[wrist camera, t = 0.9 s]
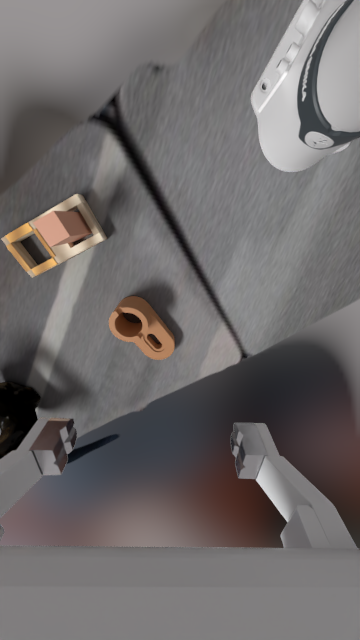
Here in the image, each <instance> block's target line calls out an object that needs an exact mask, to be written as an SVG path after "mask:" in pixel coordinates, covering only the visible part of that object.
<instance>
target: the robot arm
mask: <svg viewBox="0 0 360 640" xmlns="http://www.w3.org/2000/svg"><path fill="white" fill-rule="evenodd" d="M263 84H265V85H266V90H263V89H262V85H263ZM251 103H252V106H253V109H254V111H255V114H256V116H257V120H258V133H259V141H260V145H261V148H262V151H263V153H264V155H265V157H266V158H267V160H268V161H269V162H270V163H271V164H272V165H273V166H274V167H276V168H278V169H280V170H282V171H286V172H297V171H301V170H304V169H307V168H309V167H311V166H313V165H314V164H316V163H317V162H318V161H320V160H321V159H323V158H324V157H326V156H327V155H331V154H334V153H338V152H340V151H342V150H344V149H346V148H347V147H348V146H349V144H350V142H351V141H353V140H355V139H357V138H359V137H360V0H303V1H302V3H301V5H300V6H299V8H298V10H297V12H296V14H295V16H294V17H293V19H292V21H291V23H290V25H289V26H288V28H287V30H286V32H285V34H284V35H283V37H282V39H281V41H280V43H279V44H278V46H277V48H276V50H275V52H274V53H273V55H272V57H271V59H270V61H269V62H268V64H267V66H266V68H265V70H264V72H263V73H262V75H261V77H260V79H259V81H258V82H257V84H256V86H255V88H254V90H253V92H252V94H251ZM73 425H74V420H73V419H67V418H46V417H41V418H40V419H38V420H37V421H36V423H35V424H34V426H33V427H32V429H31V430H30V431H29V433H28V434H27V436H26V437H25V438H24V440H23V441H22V443H21V444H20V446H19V447H18V448H17V450H13V451H11V452H10V453H8V454H7V455H6V456H4V457H3V458H1V459H0V518H1V517H2V516H3V515H4V514H5V513H6V512H7V511H8V510H9V509H10V508H11V507H12V506H13V505H14V504H15V503H16V502H17V501H18V500H19V499H20V498H21V497H22V496H23V495H24V494H25V493H26V492H27V491H28V490H29V489H30V488H31V487H32V486H33V485H34V484H35V483H36V482H37V481H38V480H39V479H40V478H41V477H42V475H61V474H62V472H63V470H64V467H65V465H66V463H67V461H68V456H67V454H68V453H70V452H71V451H72V450H73V448H74V446H75V443H76V439H77V431H76V429H75V428H74V427H73ZM233 429H234V432H233V433H232V435H231V448H232V452H233V454H234V456H235V457H236V461H235V466H236V470H237V474H238V478H246V479H256V481H257V482H258V483H259V485H260V486H261V487H262V488H263V490H264V491H265V493H266V494H267V495H268V497H269V498H270V499H271V501H272V502H273V503H274V505H275V506H276V507H277V509H278V510H279V512H280V513H281V514H282V515H283V517H284V518H285V520H286V521H287V522H288V523H287V525H286V526H285V528H284V530H283V531H282V533H281V539H282V542H283V546H284V548H211V547H210V548H209V547H207V548H206V547H204V548H203V547H105V546H0V640H360V549H357V547H356V545H355V543H354V542H353V540H352V538H351V536H350V534H349V532H348V531H347V529H346V527H345V525H344V523H343V521H342V519H341V518H340V516H339V514H338V512H337V510H336V508H335V507H334V505H333V504H332V503H331V502H330V501H329V500H328V499H327V498H326V497H325V496H324V495H323V494H322V493H321V492H319V490H317V489H316V488H315V487H314V486H313V485H312V484H311V483H310V482H309V481H308V480H307V479H306V478H305V477H304V476H303V475H302V474H300V472H298V471H297V470H296V469H295V468H294V467H293V466H292V465H291V464H290V463H289V462H288V461H287V460H286V459H285V458H284V457H283V456H279V454H278V451H277V449H276V447H275V444H274V442H273V440H272V437H271V435H270V433H269V431H268V428H267V426H266V425H265V424H264V423H235V424H234V426H233ZM3 534H4V528H3V527H2V526H1V524H0V540H1V538H2V536H3Z"/></svg>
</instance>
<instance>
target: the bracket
mask: <svg viewBox="0 0 360 640" xmlns="http://www.w3.org/2000/svg"><path fill="white" fill-rule="evenodd" d="M122 312H124V313H132V314H134V315H136V316H138V317H139V318H140V320H141V322H140V323H131V322H129V321H128V320H126V319H125V317H124V316H123V313H122ZM109 327H110V330H111V332H112V333H113V334H114V335H115V336H116V337H117V338H119V339H120V340H123V341H127V342H134V343H135V344H136V345H137V346H138V347H139V348H140V349H141V350H142V351H143V353H144V354H145V355H147V356H148V357H150V358H152V359H157V360H161V359H165V358H167V357H169V356H170V355H171V354H172V353H173V351H174V347H175V339H174V335H173V334H172V332H171V331H170V330H169V329H168V327H167V326H166V325H165V324H164V322H163V321H162V320H161V319H160V317H159V316H158V315H157V314H156V313H155V311H154V310H153V309H152V308H151V306H150V305H149V304H148V303H147V302H146V301H145V300H144V299H142V298H140V297H136V296H129V297H126V298H124V299H123V300H122V301H121V302H120V303H119V304H118V306H117V307H116V309H115V310H114V312H113V313H112V314H111V316H110V319H109ZM148 334H154V335H155V336H156V338H157V339H158V340H159V341H160V342H161V344H157V343H155V342H154V340H153V339H152V338H151V337H150V336H149V335H148Z"/></svg>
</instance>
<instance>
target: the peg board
mask: <svg viewBox="0 0 360 640" xmlns="http://www.w3.org/2000/svg"><path fill="white" fill-rule="evenodd" d="M76 209H79V211H80V213H81V214H82V216H83V218H84V219H85V221H86V223H87V224H88V226H89V228H90V229H91V231H92V233H93V234H94V236H92V237H90V238H88V239H87V240H85V241H83V242H81V243H79V244H77V245H75V244H74V242H71V243H66V244H62V245H58V246H53V247H50V246H49V245H48V243H47V242H46V241H45V239H44V238H43V236H42V235H41V234H40V232H39V231H38V229H37V228H36V226H35V225H34V224H33V222H35V221H37V220H38V219H40V218H42V217H43V216H45V215H47V214H48V213H50V212H52V211H69V212H73V211H74V210H76ZM34 233H35V234H36V235H37V237H38V238H39V240H40V241H41V242H42V244H43V245H44V247H45V248H46V249H47V251H48V252H49V254H50V255H51V256H52V258H51V259H49V260H47V261H46V262H44V263H42V264H40V265H37V264H36V262H35V261H34V260H33V258H32V257H31V256H30V254H29V253H28V252H27V250H26V249H25V248H24V246H23V245H22V244H21V241H22V240H24V239H26V238H28V237H29V236H31V235H33V234H34ZM1 239H2V241H3V242H4V243H5V244H6V247H7V248H8V249H9V251H10V252H11V253H12V254H13V256H14V257H15V258H16V259H17V261H18V262H19V263H20V264H21V266H22V267H23V268H24V269H25V271H26V272H28V274H29V275H30V276H31V277H32V278H33V277H35V276H38V275H40V274H42V273H44V272H46V271H47V270H49V269H51V268H53V267H55V266H57V265H59V264H61V263H63V262H65V261H66V260H68V259H70V258H72V257H74V256H76V255H78V254H80V253H82V252H83V251H85V250H87V249H89V248H91V247H93V246H95V245H97V244H99V243H101V242H102V241H104V240H106V239H107V237H106V235H105V233H104V232H103V230H102V228H101V226H100V225H99V223H98V221H97V219H96V218H95V216H94V214H93V212H92V211H91V209H90V207H89V205H88V204H87V202H86V200H85V199H84V197H83V195H80V194H75V195H74V196H72V197H70V198H69V199H67V200H65V201H64V202H62V203H60V204H59V205H57V206H55V207H53V208H52V209H50V210H48V211H47V212H45V213H43V214H42V215H40V216H38V217H37V218H35V219H33V220H32V221H30V222H28V223H26V224H24V225H23V226H21V227H19V228H17V229H16V230H14V231H12V232H11V233H9V234H7V235H6V236H5V237H3V238H1Z"/></svg>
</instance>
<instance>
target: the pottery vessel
mask: <svg viewBox="0 0 360 640" xmlns="http://www.w3.org/2000/svg"><path fill="white" fill-rule="evenodd" d="M39 400H40V396H39V395H38V394H36V392H35V391H34V390H33V389H32V388H27V387H22V386H20V385H18V384H14V383H13V382H10V383H8V382H3V383H0V428H1V435H0V459H1V458H3V457H4V456H6V455H7V454H8V453H10V452H11V451H13V450H17V448H18V447H19V446H20V444H21V443H22V441H23V440H24V438H25V437H26V436H27V434H28V433H29V431H30V430H31V429H32V427H33V426H34V424H35V423H36V421H37V420H38V419H37V416H36V412H35V408H36V407H38V406H36V405H37V403H39Z"/></svg>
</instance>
